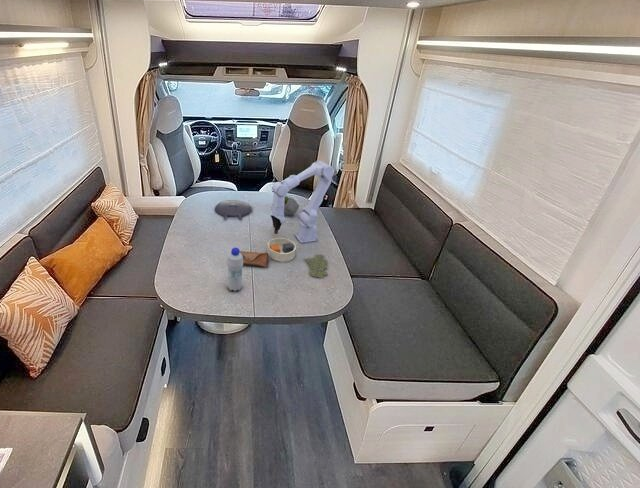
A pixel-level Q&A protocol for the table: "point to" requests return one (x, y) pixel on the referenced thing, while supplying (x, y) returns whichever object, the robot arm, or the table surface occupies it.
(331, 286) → the table surface
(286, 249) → the slate block
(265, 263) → the sunglasses case
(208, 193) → the table surface
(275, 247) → the orange block
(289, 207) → the potted plant
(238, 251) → the bottle
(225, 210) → the toy spaceship
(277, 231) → the stick
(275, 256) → the bowl
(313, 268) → the map
